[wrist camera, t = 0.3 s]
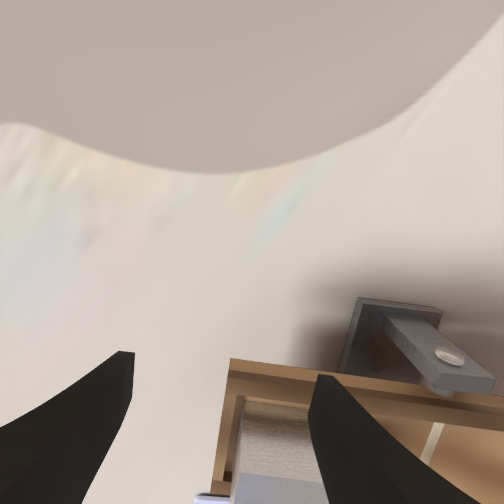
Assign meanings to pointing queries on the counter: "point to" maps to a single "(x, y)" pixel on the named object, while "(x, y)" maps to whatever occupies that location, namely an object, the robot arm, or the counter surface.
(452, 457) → the wooden tray
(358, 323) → the stand
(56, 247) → the counter surface
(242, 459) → the block
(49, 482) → the robot arm
